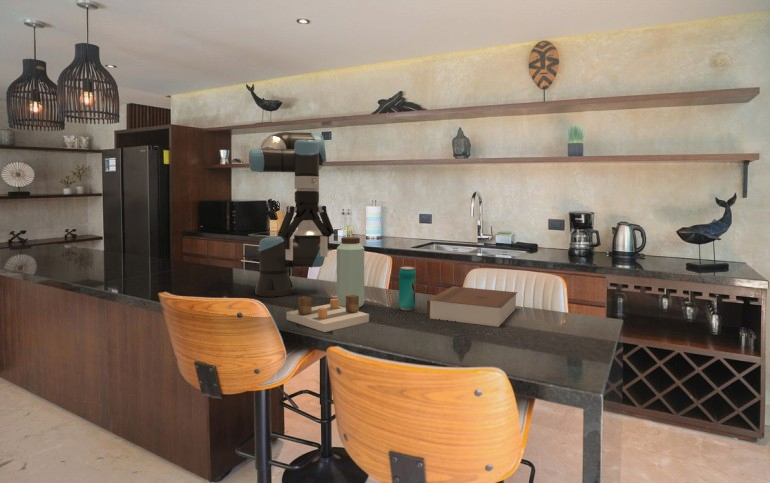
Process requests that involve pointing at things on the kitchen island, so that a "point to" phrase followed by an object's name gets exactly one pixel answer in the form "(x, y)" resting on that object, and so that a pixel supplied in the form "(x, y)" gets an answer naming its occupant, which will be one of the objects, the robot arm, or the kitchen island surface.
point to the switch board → (328, 317)
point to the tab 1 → (304, 305)
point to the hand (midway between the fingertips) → (307, 258)
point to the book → (472, 306)
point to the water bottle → (350, 270)
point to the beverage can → (407, 288)
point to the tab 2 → (352, 303)
